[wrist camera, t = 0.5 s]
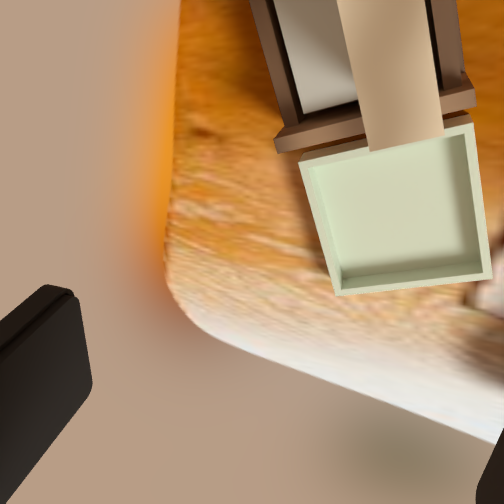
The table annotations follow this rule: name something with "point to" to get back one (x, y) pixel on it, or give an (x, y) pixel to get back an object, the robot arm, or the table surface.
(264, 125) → the table surface
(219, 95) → the table surface
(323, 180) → the tray
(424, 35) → the block
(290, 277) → the table surface
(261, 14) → the rack
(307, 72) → the offcut top
